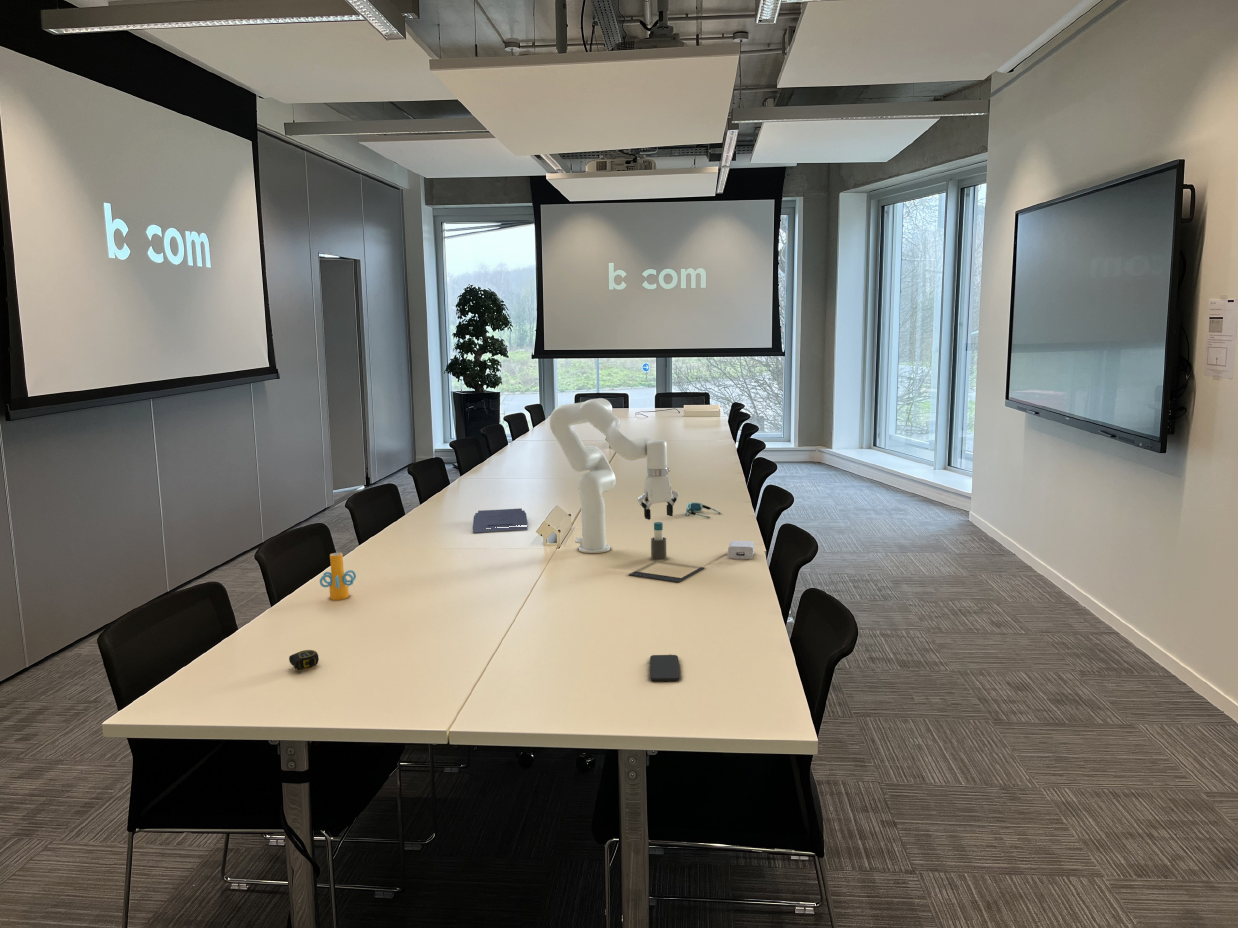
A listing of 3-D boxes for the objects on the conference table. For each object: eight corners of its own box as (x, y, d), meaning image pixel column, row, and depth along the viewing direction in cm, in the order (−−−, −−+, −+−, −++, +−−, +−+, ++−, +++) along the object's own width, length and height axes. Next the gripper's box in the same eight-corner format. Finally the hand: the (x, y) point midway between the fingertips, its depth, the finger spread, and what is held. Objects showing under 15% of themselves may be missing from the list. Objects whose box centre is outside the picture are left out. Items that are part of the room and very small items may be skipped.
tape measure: (289, 666, 227) (287, 652, 226) (315, 660, 231) (314, 647, 230) (295, 674, 221) (294, 660, 221) (322, 667, 225) (321, 654, 224)
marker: (652, 558, 323) (652, 523, 321) (657, 556, 326) (656, 521, 324) (660, 559, 321) (659, 524, 319) (664, 557, 324) (664, 522, 322)
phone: (650, 678, 210) (649, 654, 225) (650, 681, 211) (650, 657, 225) (680, 677, 210) (677, 654, 225) (680, 681, 210) (678, 657, 225)
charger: (755, 549, 334) (752, 559, 320) (731, 548, 336) (728, 558, 322) (755, 537, 334) (752, 546, 319) (731, 536, 336) (728, 546, 321)
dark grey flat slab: (526, 513, 406) (525, 506, 405) (528, 535, 377) (527, 527, 376) (474, 516, 402) (474, 509, 401) (472, 538, 374) (472, 530, 373)
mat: (628, 575, 303) (628, 574, 303) (656, 561, 320) (656, 560, 320) (678, 582, 292) (678, 581, 292) (704, 568, 309) (704, 567, 309)
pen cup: (648, 560, 323) (648, 539, 321) (656, 556, 328) (655, 536, 326) (661, 561, 320) (661, 541, 318) (669, 558, 325) (668, 537, 323)
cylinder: (364, 594, 289) (361, 551, 287) (345, 603, 279) (341, 559, 277) (334, 591, 293) (331, 549, 291) (314, 600, 283) (310, 557, 281)
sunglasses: (695, 509, 410) (696, 499, 408) (722, 517, 401) (723, 507, 400) (680, 515, 398) (681, 505, 397) (707, 522, 390) (708, 512, 389)
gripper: (671, 469, 326) (673, 512, 328) (632, 473, 318) (634, 518, 320) (682, 471, 319) (683, 516, 322) (642, 476, 311) (644, 522, 314)
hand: (658, 517), depth 321 cm, fingers open, 9 cm apart
